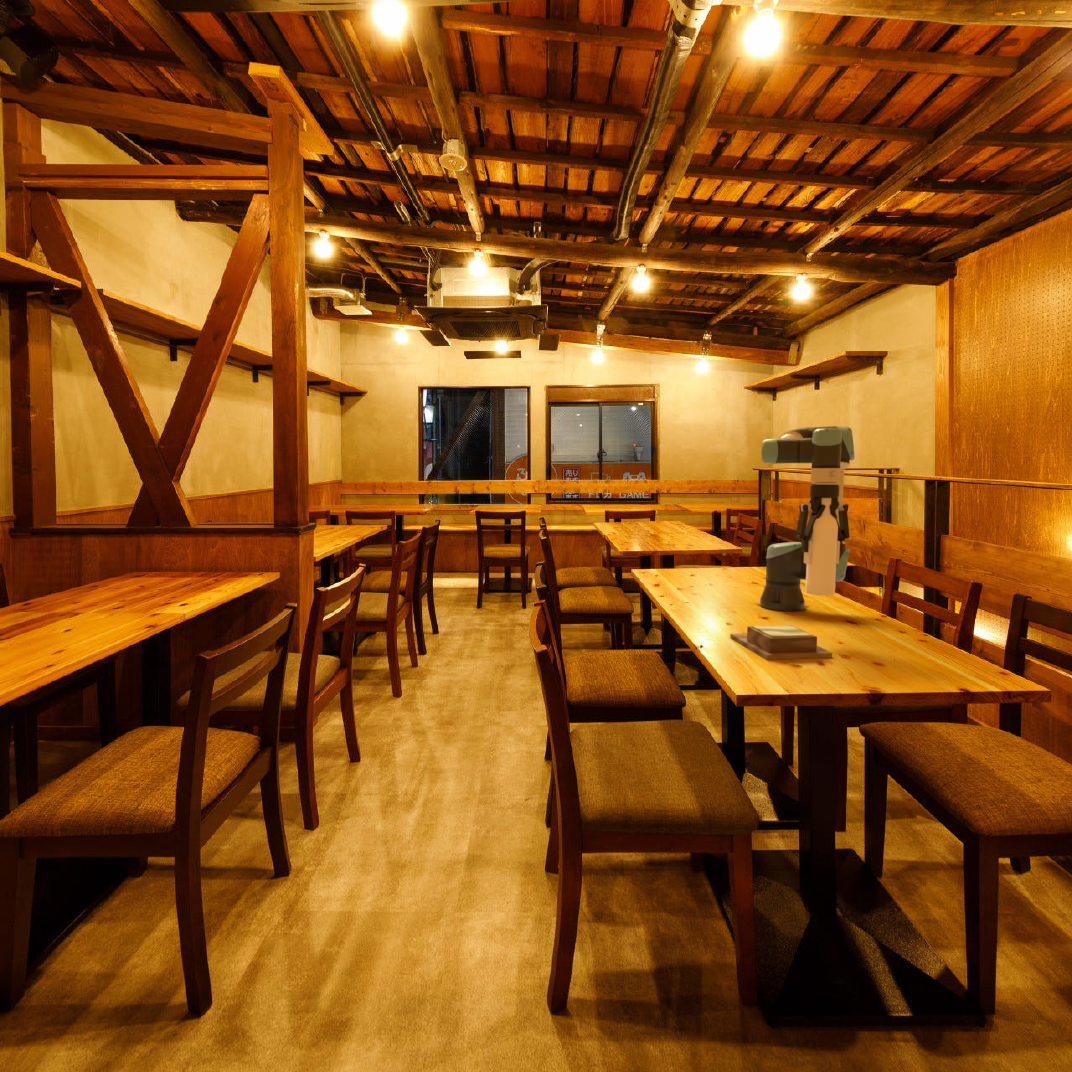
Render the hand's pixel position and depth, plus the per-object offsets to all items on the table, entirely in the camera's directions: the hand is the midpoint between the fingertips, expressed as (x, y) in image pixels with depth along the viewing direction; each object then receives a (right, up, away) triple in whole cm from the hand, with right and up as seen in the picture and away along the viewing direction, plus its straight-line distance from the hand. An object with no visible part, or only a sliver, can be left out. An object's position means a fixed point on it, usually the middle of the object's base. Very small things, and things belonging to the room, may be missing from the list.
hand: (821, 563), depth 181 cm
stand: (-15, -23, -6) cm, 28 cm away
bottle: (0, -9, +1) cm, 9 cm away
